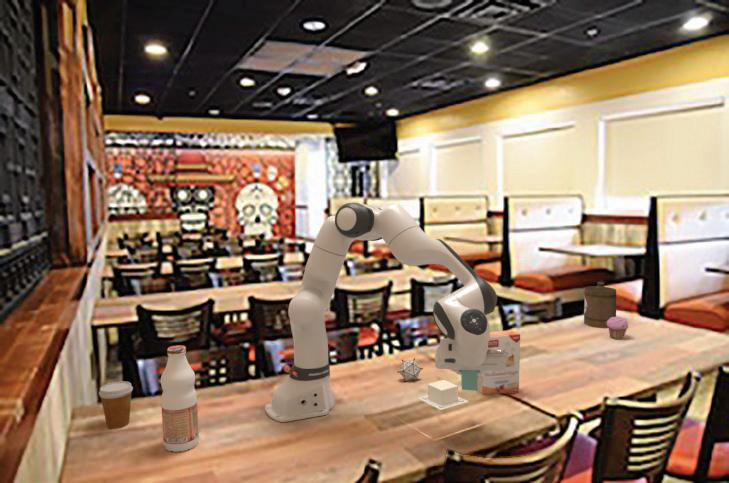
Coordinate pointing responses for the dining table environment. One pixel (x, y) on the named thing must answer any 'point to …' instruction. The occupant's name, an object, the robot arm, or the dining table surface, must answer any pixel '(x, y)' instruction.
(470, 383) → the teal brick
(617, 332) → the cupcake
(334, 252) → the robot arm
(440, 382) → the cream brick
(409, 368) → the game die
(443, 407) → the baseplate
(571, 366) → the dining table surface
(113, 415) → the disposable coffee cup
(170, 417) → the fruit juice
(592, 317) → the wooden container
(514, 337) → the cracker box
